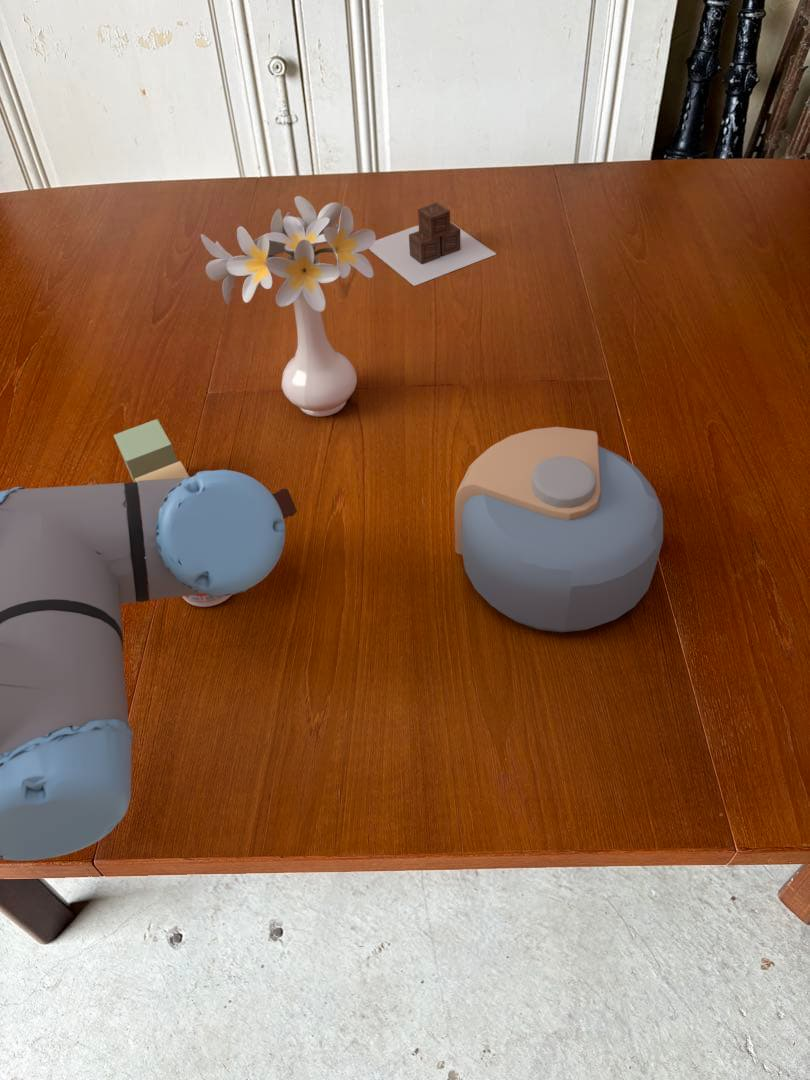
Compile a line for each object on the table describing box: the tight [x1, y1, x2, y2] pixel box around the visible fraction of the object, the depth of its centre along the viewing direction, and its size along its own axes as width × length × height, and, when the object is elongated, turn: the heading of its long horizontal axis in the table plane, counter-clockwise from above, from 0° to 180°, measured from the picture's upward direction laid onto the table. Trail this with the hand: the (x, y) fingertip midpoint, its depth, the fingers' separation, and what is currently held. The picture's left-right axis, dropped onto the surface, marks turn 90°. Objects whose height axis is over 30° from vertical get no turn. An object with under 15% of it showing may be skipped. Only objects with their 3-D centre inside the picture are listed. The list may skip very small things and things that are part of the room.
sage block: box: [113, 418, 179, 492], centre depth 91 cm, size 5×5×8 cm
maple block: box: [135, 460, 190, 488], centre depth 86 cm, size 5×5×8 cm
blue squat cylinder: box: [454, 426, 664, 633], centre depth 79 cm, size 19×20×12 cm
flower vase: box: [200, 195, 377, 418], centre depth 93 cm, size 13×18×25 cm
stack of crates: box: [367, 201, 497, 287], centre depth 124 cm, size 15×15×7 cm
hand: (191, 541), depth 82 cm, fingers open, 12 cm apart
